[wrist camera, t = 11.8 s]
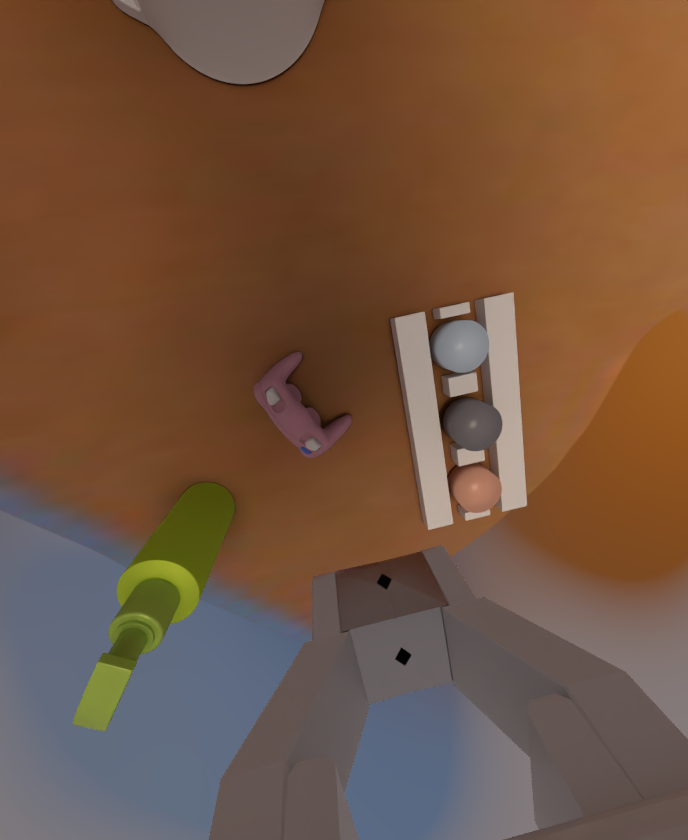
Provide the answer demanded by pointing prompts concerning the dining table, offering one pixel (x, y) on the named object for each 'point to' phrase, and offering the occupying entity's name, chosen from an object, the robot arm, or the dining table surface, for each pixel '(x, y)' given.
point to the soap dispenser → (158, 593)
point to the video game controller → (296, 411)
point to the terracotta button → (474, 487)
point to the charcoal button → (472, 423)
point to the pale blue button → (459, 345)
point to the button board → (422, 401)
